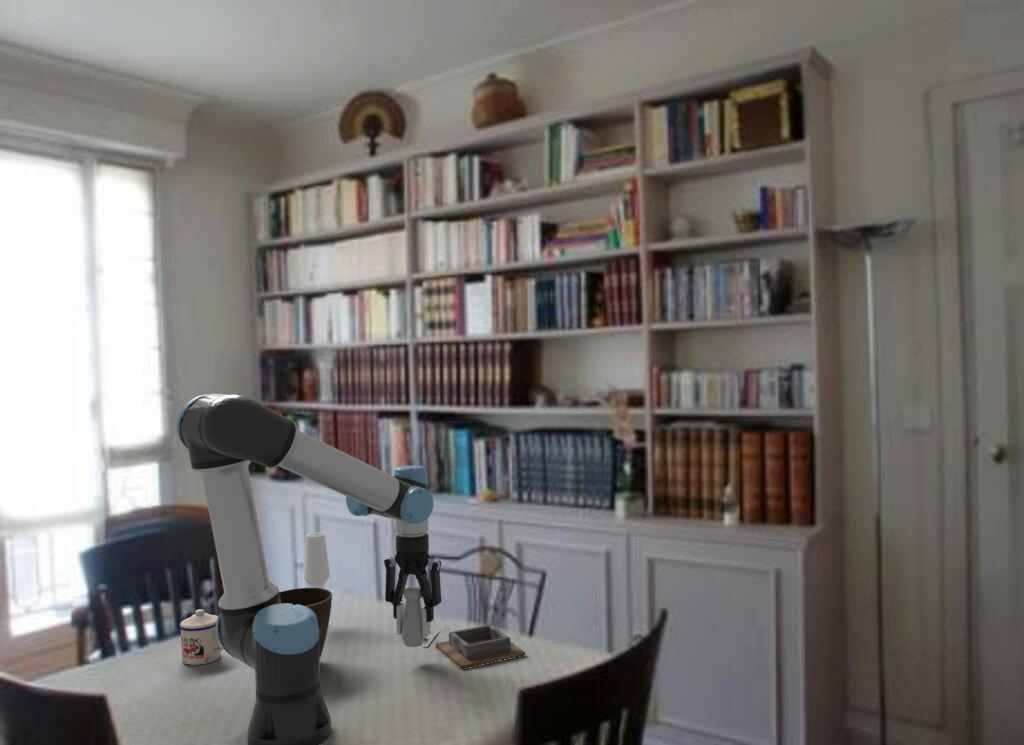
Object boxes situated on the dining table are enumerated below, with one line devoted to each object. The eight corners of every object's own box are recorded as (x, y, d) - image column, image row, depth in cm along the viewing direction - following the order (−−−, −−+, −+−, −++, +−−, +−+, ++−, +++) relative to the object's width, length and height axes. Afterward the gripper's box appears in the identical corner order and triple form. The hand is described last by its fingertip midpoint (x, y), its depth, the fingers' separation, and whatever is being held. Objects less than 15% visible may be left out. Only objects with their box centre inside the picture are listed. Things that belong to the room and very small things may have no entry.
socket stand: (525, 656, 189) (524, 639, 188) (461, 670, 182) (460, 652, 181) (496, 635, 203) (495, 619, 203) (435, 647, 196) (435, 631, 196)
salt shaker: (396, 646, 186) (395, 589, 186) (410, 638, 191) (409, 583, 191) (417, 650, 183) (416, 592, 183) (431, 642, 188) (430, 586, 188)
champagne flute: (324, 618, 220) (321, 530, 220) (336, 624, 215) (332, 534, 214) (301, 624, 216) (297, 534, 215) (312, 630, 211) (309, 538, 210)
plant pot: (311, 682, 177) (308, 609, 177) (253, 675, 182) (251, 604, 182) (346, 657, 192) (344, 589, 191) (292, 651, 196) (289, 585, 196)
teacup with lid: (172, 663, 191) (170, 614, 190) (199, 650, 199) (197, 603, 199) (213, 669, 187) (211, 619, 186) (240, 655, 195) (238, 606, 195)
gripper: (456, 532, 187) (457, 632, 187) (383, 528, 193) (384, 625, 194) (443, 539, 180) (444, 643, 180) (367, 534, 186) (369, 635, 187)
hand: (413, 633), depth 187 cm, fingers closed on salt shaker, 6 cm apart
